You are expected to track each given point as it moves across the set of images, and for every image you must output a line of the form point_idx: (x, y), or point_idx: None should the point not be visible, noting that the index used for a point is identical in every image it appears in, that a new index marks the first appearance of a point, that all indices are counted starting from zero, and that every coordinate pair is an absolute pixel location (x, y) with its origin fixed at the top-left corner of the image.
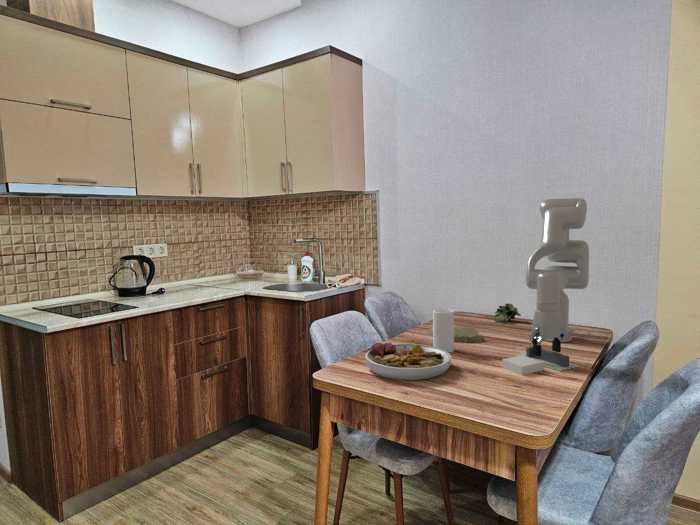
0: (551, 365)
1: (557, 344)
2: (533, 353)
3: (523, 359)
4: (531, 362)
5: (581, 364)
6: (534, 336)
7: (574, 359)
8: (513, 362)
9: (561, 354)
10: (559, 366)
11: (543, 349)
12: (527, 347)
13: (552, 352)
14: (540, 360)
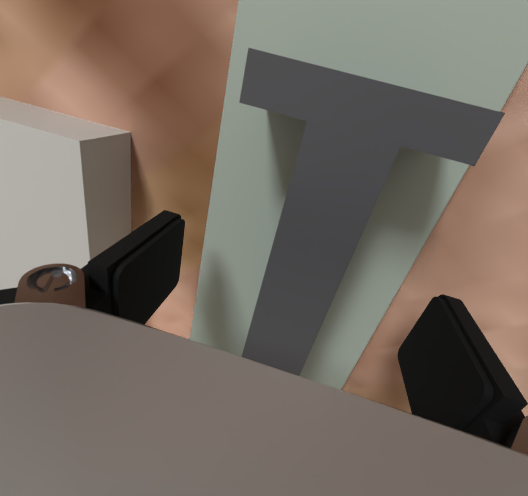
0: (214, 313)
1: (425, 411)
2: (163, 216)
3: (9, 208)
4: (19, 279)
5: (402, 406)
6: (66, 317)
7: (508, 363)
8: None
9: None
10: (234, 348)
11: (319, 260)
12: (260, 63)
13: (277, 349)
14: (260, 222)
